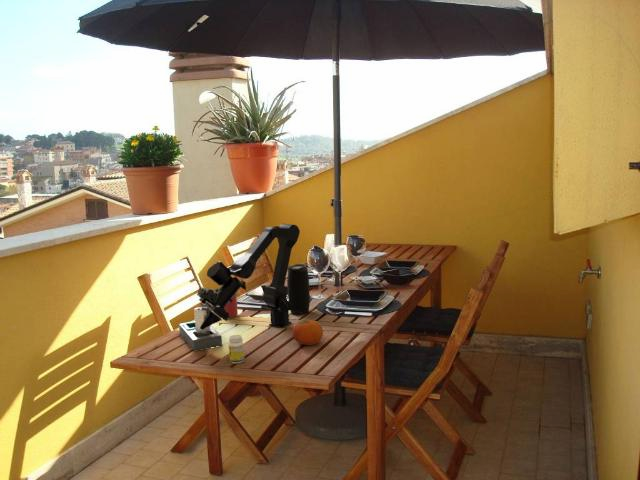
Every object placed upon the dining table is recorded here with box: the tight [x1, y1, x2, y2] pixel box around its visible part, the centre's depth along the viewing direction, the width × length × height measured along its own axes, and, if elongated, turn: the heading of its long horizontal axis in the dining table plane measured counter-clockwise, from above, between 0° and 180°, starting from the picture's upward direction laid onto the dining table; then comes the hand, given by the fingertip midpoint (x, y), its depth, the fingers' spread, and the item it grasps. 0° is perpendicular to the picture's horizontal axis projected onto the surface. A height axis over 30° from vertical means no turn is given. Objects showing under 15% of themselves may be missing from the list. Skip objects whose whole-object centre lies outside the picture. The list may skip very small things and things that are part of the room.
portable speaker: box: [286, 263, 311, 316], centre depth 257 cm, size 9×9×20 cm
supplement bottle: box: [228, 334, 245, 364], centre depth 205 cm, size 5×5×8 cm
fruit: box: [292, 319, 324, 346], centre depth 219 cm, size 11×10×8 cm
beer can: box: [224, 293, 239, 319], centre depth 256 cm, size 7×7×12 cm
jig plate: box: [178, 320, 223, 351], centre depth 228 cm, size 22×10×4 cm, turn 25°
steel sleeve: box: [193, 306, 210, 337], centre depth 223 cm, size 5×5×13 cm
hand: (198, 326), depth 222 cm, fingers closed on steel sleeve, 5 cm apart
